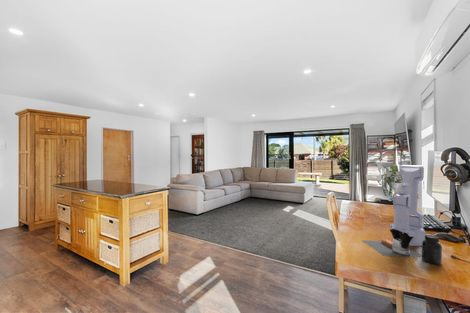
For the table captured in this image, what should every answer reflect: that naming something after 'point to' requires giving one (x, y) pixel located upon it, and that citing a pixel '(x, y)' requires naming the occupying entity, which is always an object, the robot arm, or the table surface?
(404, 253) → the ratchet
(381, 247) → the mat
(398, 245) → the socket
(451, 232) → the table surface
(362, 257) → the table surface
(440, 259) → the supplement bottle
